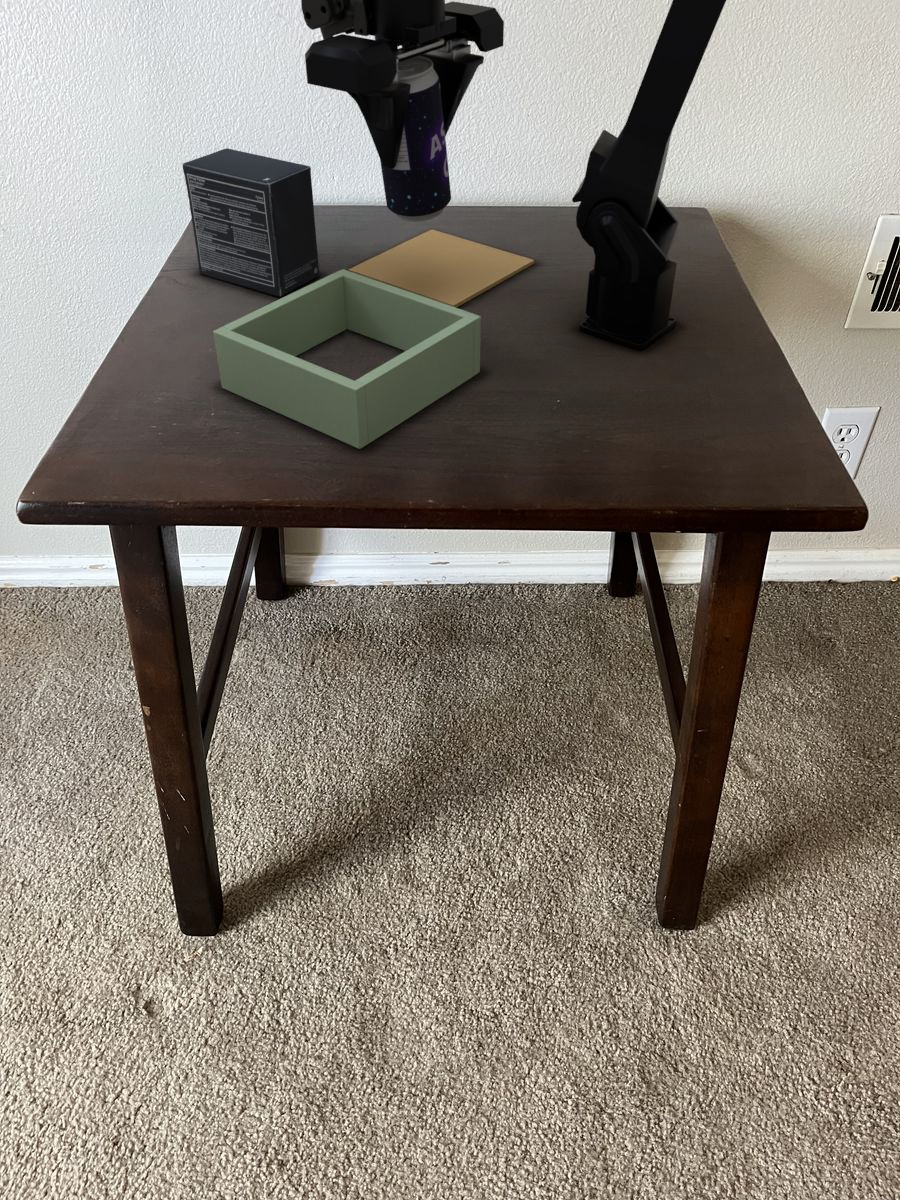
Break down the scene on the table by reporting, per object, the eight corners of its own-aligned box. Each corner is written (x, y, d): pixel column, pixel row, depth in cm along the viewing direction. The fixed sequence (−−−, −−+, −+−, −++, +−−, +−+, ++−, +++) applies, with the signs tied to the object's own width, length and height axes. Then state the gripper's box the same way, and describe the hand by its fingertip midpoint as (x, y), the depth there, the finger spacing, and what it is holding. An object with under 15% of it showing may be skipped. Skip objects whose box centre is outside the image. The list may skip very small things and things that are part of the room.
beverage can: (446, 225, 89) (430, 78, 80) (382, 226, 90) (360, 81, 81) (457, 195, 93) (443, 51, 84) (395, 196, 94) (375, 54, 85)
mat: (534, 263, 103) (534, 259, 103) (453, 309, 95) (453, 305, 95) (431, 232, 109) (431, 229, 109) (348, 273, 101) (348, 269, 101)
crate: (480, 372, 86) (481, 315, 83) (359, 449, 77) (355, 389, 74) (346, 322, 93) (342, 268, 90) (221, 388, 84) (212, 331, 81)
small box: (324, 275, 101) (315, 163, 94) (281, 299, 97) (268, 184, 90) (241, 251, 105) (226, 143, 98) (196, 274, 101) (178, 163, 94)
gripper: (400, -83, 87) (406, 114, 97) (240, -51, 76) (266, 169, 86) (510, -71, 82) (504, 136, 92) (357, -35, 71) (369, 197, 81)
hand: (412, 157), depth 88 cm, fingers closed on beverage can, 6 cm apart
